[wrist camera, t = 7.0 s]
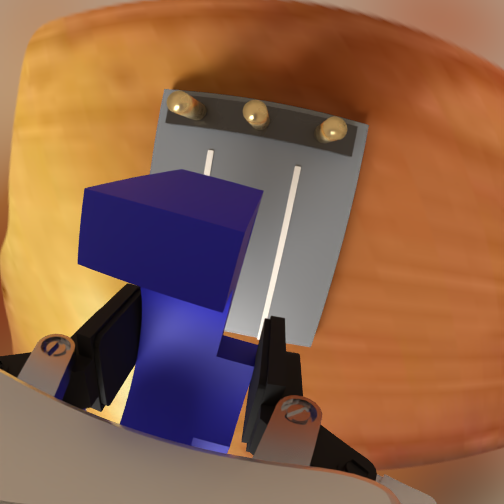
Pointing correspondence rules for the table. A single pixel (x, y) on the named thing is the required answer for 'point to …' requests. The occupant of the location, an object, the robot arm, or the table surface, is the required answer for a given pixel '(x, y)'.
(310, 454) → the robot arm
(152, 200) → the blue curved bracket
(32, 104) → the table surface
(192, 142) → the header board
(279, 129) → the brass pins
